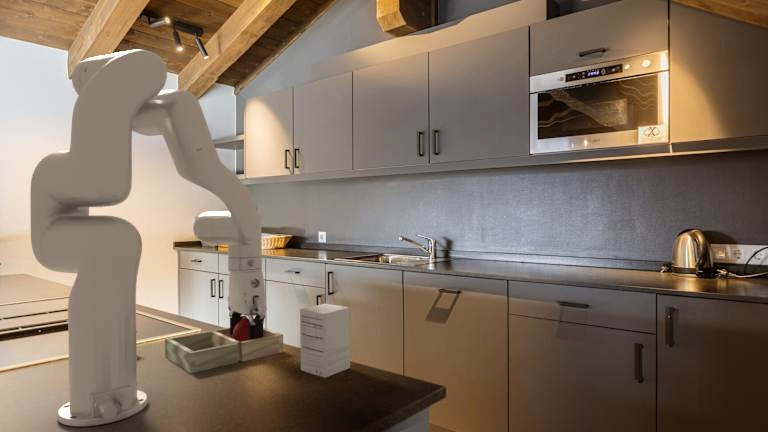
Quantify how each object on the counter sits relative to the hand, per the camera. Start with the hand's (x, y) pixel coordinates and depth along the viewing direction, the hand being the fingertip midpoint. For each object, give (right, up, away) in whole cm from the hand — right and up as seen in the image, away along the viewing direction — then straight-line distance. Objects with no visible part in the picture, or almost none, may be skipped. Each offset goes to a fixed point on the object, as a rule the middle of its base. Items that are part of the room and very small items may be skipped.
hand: (246, 337), depth 112 cm
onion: (0, -3, 0) cm, 3 cm away
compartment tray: (-4, -3, -4) cm, 6 cm away
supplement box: (+20, -3, -14) cm, 25 cm away
